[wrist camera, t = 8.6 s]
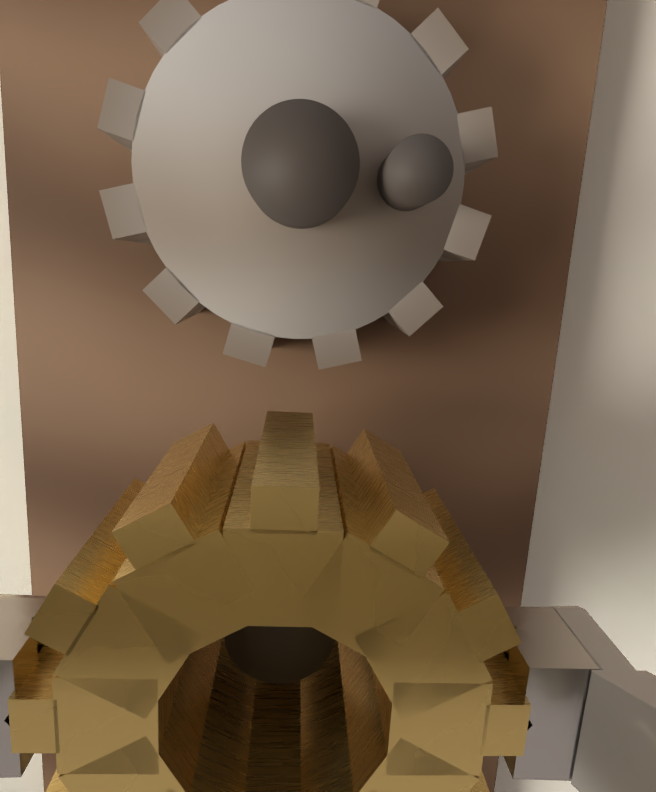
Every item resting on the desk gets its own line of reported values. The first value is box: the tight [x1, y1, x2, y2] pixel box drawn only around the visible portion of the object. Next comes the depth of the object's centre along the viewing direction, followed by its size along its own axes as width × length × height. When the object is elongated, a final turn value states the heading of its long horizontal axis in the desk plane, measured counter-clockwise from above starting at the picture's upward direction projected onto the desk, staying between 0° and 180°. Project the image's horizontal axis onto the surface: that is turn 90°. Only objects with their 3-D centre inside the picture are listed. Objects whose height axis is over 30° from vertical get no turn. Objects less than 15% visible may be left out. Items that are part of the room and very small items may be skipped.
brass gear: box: [8, 411, 531, 792], centre depth 9 cm, size 7×7×4 cm
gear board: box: [0, 0, 607, 792], centre depth 12 cm, size 28×12×6 cm, turn 177°
